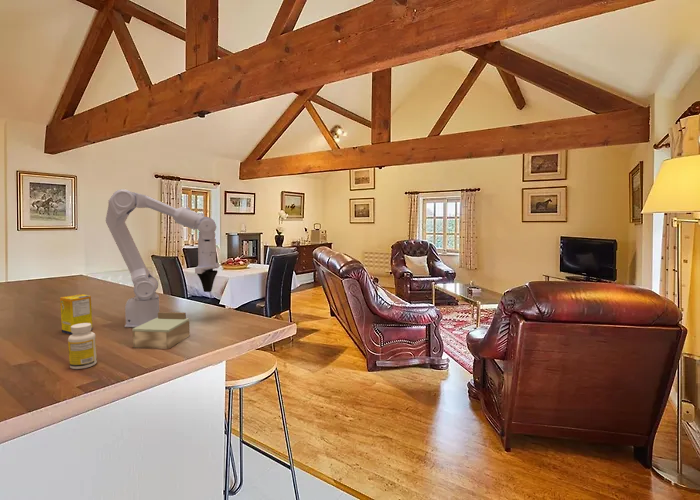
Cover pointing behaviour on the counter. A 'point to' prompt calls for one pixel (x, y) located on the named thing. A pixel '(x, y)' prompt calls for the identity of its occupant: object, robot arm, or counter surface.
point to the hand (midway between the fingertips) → (207, 291)
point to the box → (160, 337)
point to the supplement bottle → (82, 346)
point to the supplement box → (75, 311)
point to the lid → (163, 322)
